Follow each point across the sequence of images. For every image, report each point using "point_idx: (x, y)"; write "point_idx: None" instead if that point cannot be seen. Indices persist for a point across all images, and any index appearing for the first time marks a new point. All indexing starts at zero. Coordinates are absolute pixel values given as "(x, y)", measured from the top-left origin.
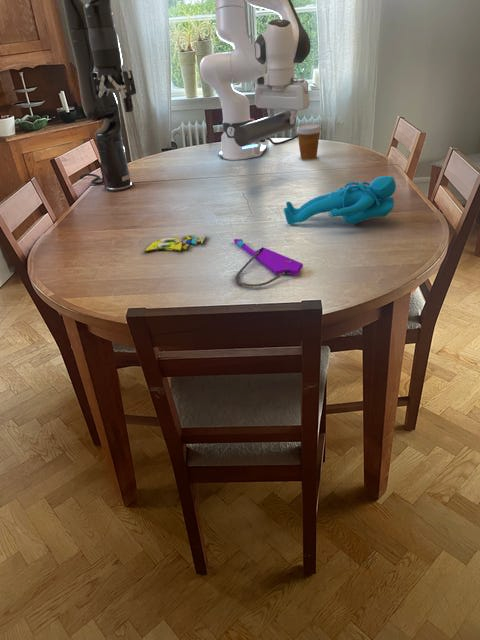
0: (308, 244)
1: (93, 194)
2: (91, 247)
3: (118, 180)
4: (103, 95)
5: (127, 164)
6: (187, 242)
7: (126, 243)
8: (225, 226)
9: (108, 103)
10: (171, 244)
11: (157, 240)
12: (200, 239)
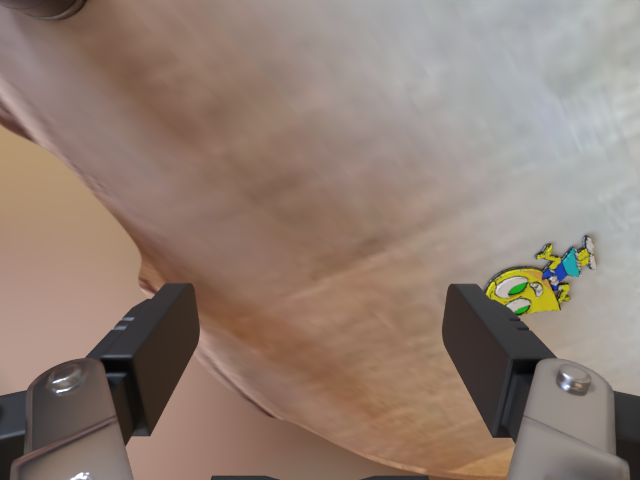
0: None
1: (28, 74)
2: (357, 352)
3: None
4: (123, 440)
5: None
6: (559, 276)
7: (417, 315)
8: (611, 157)
9: (169, 330)
10: (530, 299)
11: (488, 294)
12: (585, 257)
